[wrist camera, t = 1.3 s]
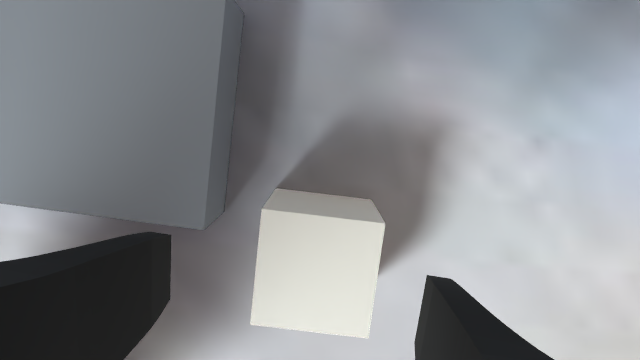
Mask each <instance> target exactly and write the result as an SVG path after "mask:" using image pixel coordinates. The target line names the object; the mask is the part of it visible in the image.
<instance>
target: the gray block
mask: <svg viewBox="0 0 640 360" xmlns="http://www.w3.org/2000/svg"><path fill="white" fill-rule="evenodd" d="M243 19H244V13H243V11H242V10H241V9H240V7H239V6H238V5H237V4H236V2H235V1H234V0H0V203H1V204H9V205H16V206H24V207H31V208H39V209H46V210H54V211H61V212H69V213H76V214H84V215H91V216H99V217H106V218H114V219H121V220H129V221H137V222H144V223H152V224H159V225H167V226H174V227H182V228H189V229H197V230H205V229H206V228H207V227H208V226H209V225H210V224H211V223H212V222H213V221H214V220H215V219H217V218H218V217H219V216H220V215H221V214H222V213H223V212H224V207H225V197H226V188H227V178H228V168H229V158H230V148H231V138H232V128H233V118H234V108H235V99H236V89H237V79H238V69H239V59H240V49H241V39H242V29H243Z"/></svg>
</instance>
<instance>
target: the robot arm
mask: <svg viewBox="0 0 640 360" xmlns="http://www.w3.org/2000/svg"><path fill="white" fill-rule="evenodd" d="M170 271H171V235H168V234H161V233H155V232H144V233H137V234H132V235H127V236H122V237H118V238H113V239H109V240H105V241H101V242H97V243H93V244H88V245H84V246H80V247H76V248H71V249H66V250H62V251H57V252H52V253H48V254H43V255H39V256H33V257H28V258H22V259H16V260H10V261H3V262H0V360H123V359H124V358H125V357H126V356H127V355H128V354H129V353H130V352H131V351H132V349H133V348H134V347H135V346H136V345H137V344H138V343H139V341H140V340H141V339H142V338H143V337H144V336H145V335H146V333H147V332H148V331H149V330H150V329H151V328H152V326H153V325H154V323H155V322H156V320H157V319H158V317H159V316H160V315H161V313H162V311H163V310H164V308H165V307H166V305H167V303H168V302H169V300H170ZM415 360H554V359H552V358H551V357H549V356H548V355H546V354H545V353H543V352H542V351H540V350H539V349H537V348H536V347H534V346H533V345H531V344H530V343H529V342H527V341H526V340H524V339H523V338H522V337H520V336H519V335H518V334H517V333H515V332H514V331H513V330H511V329H510V328H509V327H507V326H506V325H505V324H504V323H502V322H501V321H500V320H499V319H497V318H496V317H495V316H494V315H493V314H491V313H490V312H489V311H488V310H487V309H486V308H485V307H483V306H482V305H481V304H480V303H479V302H478V301H477V300H475V299H474V298H473V297H472V296H471V295H470V294H469V293H467V292H466V291H465V290H464V289H463V288H462V287H461V286H459V285H458V284H457V283H456V282H454V281H453V280H452V279H448V278H442V277H436V276H429V275H427V278H426V283H425V289H424V294H423V300H422V305H421V311H420V316H419V321H418V327H417V332H416V338H415Z"/></svg>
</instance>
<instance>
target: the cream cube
mask: <svg viewBox="0 0 640 360" xmlns="http://www.w3.org/2000/svg"><path fill="white" fill-rule="evenodd" d="M384 230H385V222H384V220H383V219H382V217H381V215H380V214H379V212H378V210H377V208H376V207H375V205H374V203H373V202H372V200H371V199H363V198H355V197H346V196H338V195H330V194H321V193H313V192H304V191H296V190H288V189H279V188H276V189H275V190H274V192H273V193H272V194H271V196H270V197H269V199H268V200H267V202H266V203H265V205H264V206H263V208H262V210H261V220H260V230H259V240H258V250H257V260H256V270H255V280H254V290H253V300H252V310H251V320H250V325H256V326H265V327H273V328H282V329H291V330H299V331H308V332H317V333H325V334H334V335H342V336H351V337H360V338H369V331H370V324H371V318H372V311H373V304H374V297H375V291H376V284H377V277H378V270H379V263H380V257H381V250H382V243H383V236H384Z"/></svg>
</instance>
